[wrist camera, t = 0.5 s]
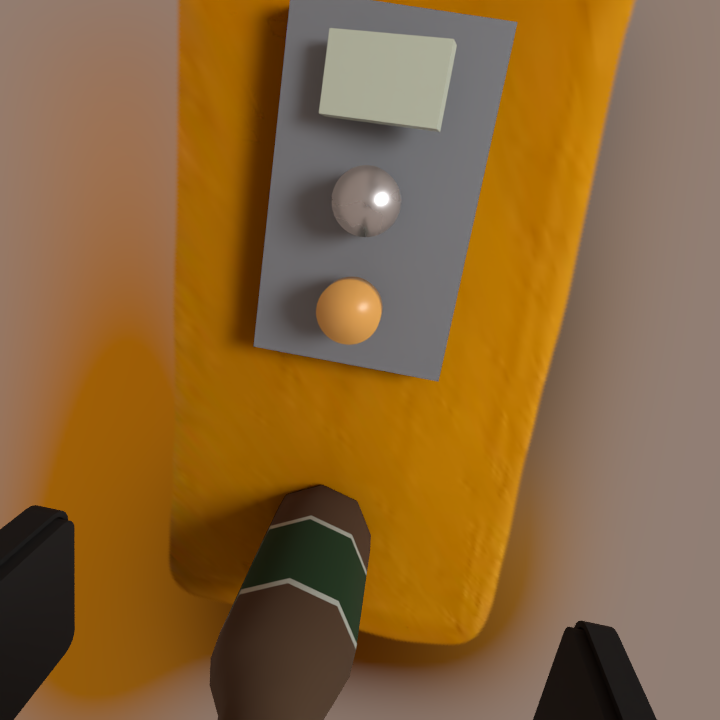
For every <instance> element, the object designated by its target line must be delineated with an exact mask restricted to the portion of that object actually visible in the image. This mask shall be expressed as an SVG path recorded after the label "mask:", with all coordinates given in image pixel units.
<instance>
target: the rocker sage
mask: <svg viewBox="0 0 720 720" xmlns="http://www.w3.org/2000/svg"><path fill="white" fill-rule="evenodd" d="M456 47H457V45H456V42H455V40H454V39H450V38H438V37H427V36H416V35H405V34H393V33H382V32H371V31H360V30H348V29H337V28H329V36H328V44H327V52H326V60H325V68H324V76H323V84H322V92H321V99H320V107H319V114H321V115H323V116H325V117H332V118H339V119H346V120H354V121H361V122H369V123H376V124H384V125H391V126H398V127H406V128H413V129H421V130H428V131H435V132H440V130H441V125H442V120H443V115H444V110H445V104H446V99H447V94H448V89H449V84H450V78H451V73H452V68H453V63H454V58H455V52H456Z"/></svg>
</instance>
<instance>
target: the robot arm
mask: <svg viewBox="0 0 720 720" xmlns="http://www.w3.org/2000/svg"><path fill="white" fill-rule="evenodd" d="M74 630H75V626H74V524H73V522H72V521H68V516H67V514H66V513H65V512H64V511H60V510H56V509H51V508H46V507H41V506H36V505H35V506H31V507H29V508H27V509H26V510H25V511H23V512H22V513H21V514H19V515H18V516H17V517H16V518H14V519H13V520H12V521H11V522H9V523H8V524H7V525H5V526H4V527H3V528H2V529H0V720H14V718H15V717H16V716H17V715H18V713H19V712H20V711H21V709H22V708H23V707H24V706H25V704H26V703H27V702H28V701H29V699H30V698H31V697H32V695H33V694H34V692H36V690H37V689H38V688H39V686H40V685H41V684H42V683H43V681H44V680H45V679H46V678H47V676H48V675H49V674H50V672H51V671H52V670H53V669H54V667H55V666H56V665H57V663H58V662H59V661H60V660H61V658H62V657H63V656H64V655H65V653H66V652H67V650H68V648H69V646H70V645H71V642H72V640H73V636H74ZM533 720H657V719H656V717H655V715H654V713H653V711H652V708H651V706H650V704H649V702H648V699H647V697H646V695H645V693H644V691H643V688H642V686H641V684H640V682H639V680H638V678H637V675H636V673H635V671H634V669H633V667H632V664H631V662H630V660H629V658H628V656H627V653H626V651H625V649H624V647H623V645H622V642H621V640H620V638H619V636H618V634H617V632H616V631H615V629H613V628H612V627H609V626H604V625H599V624H595V623H590V622H585V621H578V622H577V623H576V625H575V627H574V628H572V627H567V628H566V629H565V631H564V634H563V636H562V639H561V642H560V645H559V648H558V650H557V653H556V656H555V659H554V662H553V665H552V667H551V670H550V673H549V676H548V679H547V682H546V685H545V688H544V690H543V693H542V696H541V699H540V701H539V705H538V707H537V710H536V713H535V716H534V719H533Z"/></svg>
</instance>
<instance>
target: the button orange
mask: <svg viewBox="0 0 720 720" xmlns="http://www.w3.org/2000/svg"><path fill="white" fill-rule="evenodd" d="M382 309H383V305H382V300H381V296H380V294H379V292H378V291H377V289H376V288H375V287H374V286H373V285H372V284H371V283H370V282H368V281H367V280H365V279H362V278H359V277H353V276H349V277H343V278H340V279H338V280H336V281H335V282H333V283H332V284H331V285H330V286H329V287H328V288H327V289H326V290H325V291H324V292H323V293H322V294H321V296H320V298H319V300H318V303H317V307H316V317H317V321H318V324H319V326H320V328H321V330H322V331H323V332H324V334H325V335H326V336H327V337H329V338H330V339H331V340H333V341H335V342H337V343H341V344H346V345H352V344H358V343H361V342H363V341H365V340H367V339H368V338H369V337H370V336H371V335H372V334H373V333H374V332H375V330H376V329H377V327H378V324H379V322H380V319H381V315H382Z"/></svg>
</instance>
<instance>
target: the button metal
mask: <svg viewBox="0 0 720 720" xmlns="http://www.w3.org/2000/svg"><path fill="white" fill-rule="evenodd" d="M400 209H401V193H400V189H399V187H398V185H397V183H396V182H395V180H394V179H393V178H392V177H391V176H390V175H389V174H388V173H387V172H385V171H384V170H382V169H380V168H378V167H375V166H371V165H362V166H357V167H354V168H352V169H350V170H348V171H347V172H345V173H344V174H343V175H342V176H341V177H340V178H339V180H338V181H337V183H336V185H335V187H334V189H333V193H332V210H333V213H334V216H335V218H336V220H337V222H338V223H339V224H340V226H341V227H342V228H343V229H344V230H346V231H347V232H349V233H351V234H353V235H355V236H359V237H373V236H376V235H379V234H381V233H383V232H384V231H386V230H387V229H388V228H390V227H391V226H392V225H393V223H394V222H395V221H396V219H397V217H398V215H399V213H400Z"/></svg>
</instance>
